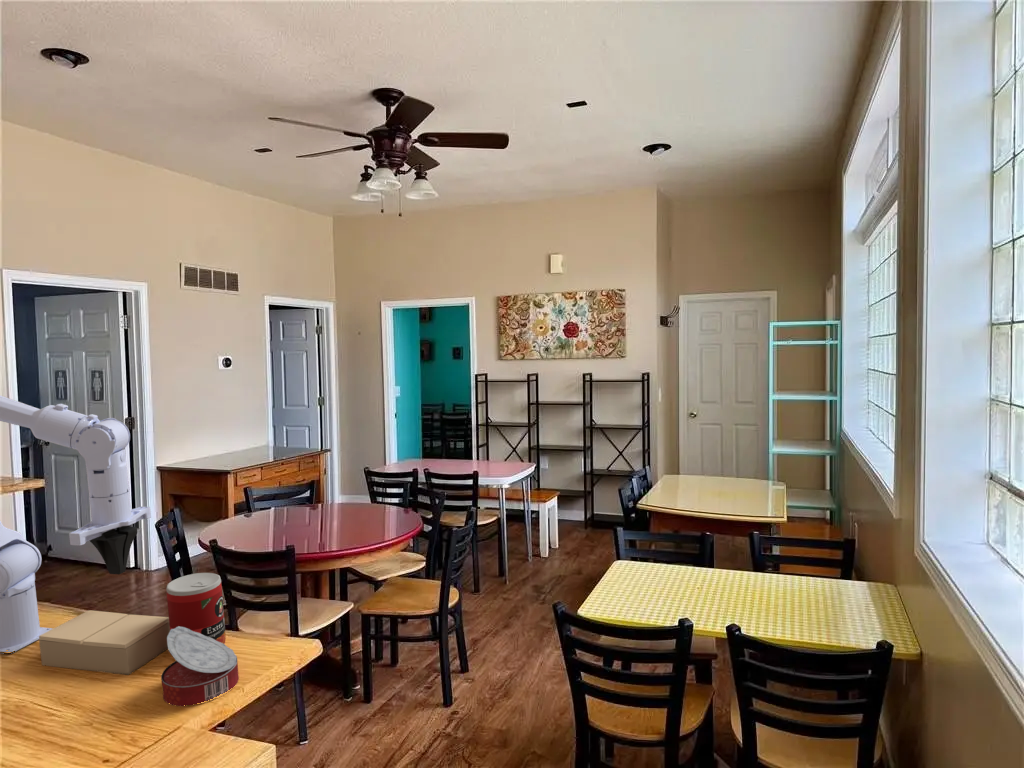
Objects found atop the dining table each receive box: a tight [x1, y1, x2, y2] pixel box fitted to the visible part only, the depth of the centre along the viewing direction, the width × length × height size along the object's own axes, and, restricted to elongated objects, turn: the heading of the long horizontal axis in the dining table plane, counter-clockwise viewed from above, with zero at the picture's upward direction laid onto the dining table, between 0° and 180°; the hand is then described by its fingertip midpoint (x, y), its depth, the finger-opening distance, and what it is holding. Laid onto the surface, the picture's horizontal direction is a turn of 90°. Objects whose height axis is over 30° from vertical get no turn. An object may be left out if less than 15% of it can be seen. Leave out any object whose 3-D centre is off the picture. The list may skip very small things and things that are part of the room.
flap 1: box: [38, 609, 129, 645], centre depth 105 cm, size 8×9×1 cm
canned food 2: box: [160, 626, 240, 707], centre depth 95 cm, size 11×10×10 cm
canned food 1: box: [165, 572, 227, 645], centre depth 105 cm, size 8×8×11 cm
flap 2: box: [83, 614, 169, 649], centre depth 103 cm, size 8×9×1 cm
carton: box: [38, 622, 170, 676], centre depth 104 cm, size 16×9×4 cm, turn 76°
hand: (117, 572), depth 111 cm, fingers closed
